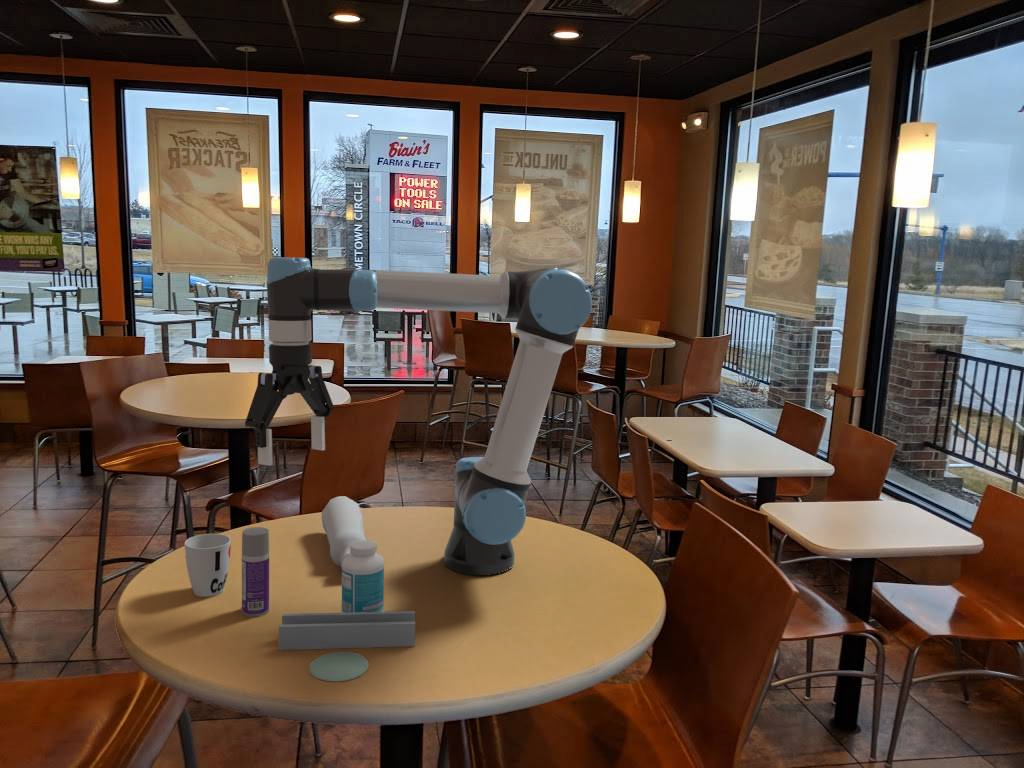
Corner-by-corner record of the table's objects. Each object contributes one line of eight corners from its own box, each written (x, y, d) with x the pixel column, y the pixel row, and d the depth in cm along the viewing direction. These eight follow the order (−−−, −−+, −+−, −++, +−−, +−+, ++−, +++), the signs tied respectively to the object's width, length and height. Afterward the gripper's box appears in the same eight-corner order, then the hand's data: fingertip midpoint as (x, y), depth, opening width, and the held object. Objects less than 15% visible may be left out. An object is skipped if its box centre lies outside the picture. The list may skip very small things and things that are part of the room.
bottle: (313, 518, 184) (319, 571, 156) (335, 486, 184) (346, 534, 156) (345, 537, 187) (358, 592, 159) (368, 506, 187) (384, 555, 159)
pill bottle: (389, 610, 145) (391, 540, 143) (374, 627, 138) (375, 554, 136) (351, 605, 147) (352, 535, 145) (334, 622, 139) (335, 548, 137)
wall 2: (413, 632, 137) (414, 611, 136) (413, 635, 136) (414, 613, 135) (282, 636, 133) (282, 613, 133) (281, 638, 133) (282, 615, 132)
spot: (368, 652, 129) (368, 651, 129) (367, 680, 121) (367, 679, 121) (312, 653, 128) (312, 652, 128) (306, 682, 119) (306, 681, 119)
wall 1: (414, 643, 133) (415, 621, 132) (414, 646, 132) (415, 623, 132) (279, 647, 129) (279, 624, 129) (278, 650, 129) (278, 626, 128)
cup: (215, 602, 145) (215, 550, 143) (176, 597, 146) (175, 545, 145) (239, 585, 153) (239, 536, 151) (201, 580, 154) (201, 531, 153)
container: (274, 608, 144) (274, 529, 142) (258, 618, 139) (258, 537, 137) (252, 603, 145) (252, 525, 143) (236, 613, 141) (235, 533, 139)
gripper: (321, 336, 156) (323, 441, 160) (220, 347, 135) (225, 468, 138) (351, 339, 153) (352, 446, 156) (252, 350, 131) (256, 474, 134)
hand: (292, 456), depth 147 cm, fingers open, 13 cm apart
